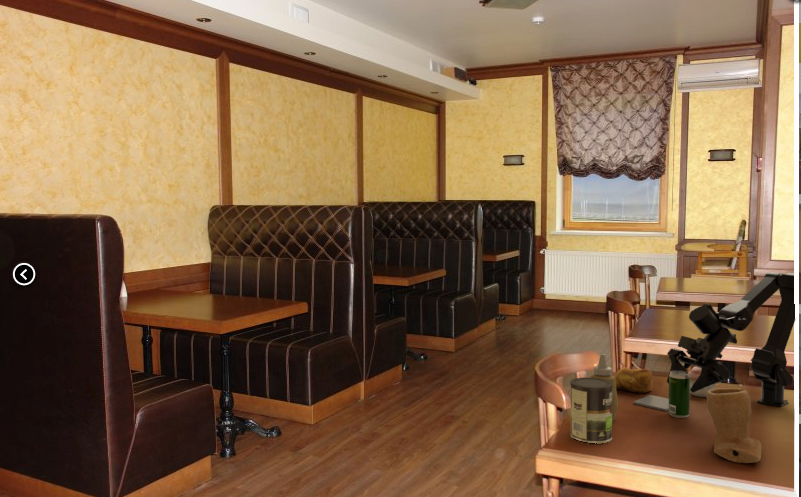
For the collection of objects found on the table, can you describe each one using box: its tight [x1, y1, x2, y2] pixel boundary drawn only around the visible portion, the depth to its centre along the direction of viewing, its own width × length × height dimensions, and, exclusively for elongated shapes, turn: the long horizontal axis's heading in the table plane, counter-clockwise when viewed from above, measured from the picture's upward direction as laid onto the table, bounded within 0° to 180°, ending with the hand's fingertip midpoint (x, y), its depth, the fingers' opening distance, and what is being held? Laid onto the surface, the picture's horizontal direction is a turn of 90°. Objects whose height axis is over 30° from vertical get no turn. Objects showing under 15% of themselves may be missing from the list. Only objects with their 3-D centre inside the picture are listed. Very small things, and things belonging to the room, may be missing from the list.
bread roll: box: [613, 366, 653, 394], centre depth 208 cm, size 13×10×8 cm
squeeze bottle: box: [589, 353, 619, 422], centre depth 179 cm, size 8×8×18 cm
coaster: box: [633, 394, 669, 412], centre depth 193 cm, size 10×10×1 cm
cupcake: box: [687, 366, 718, 398], centre depth 201 cm, size 9×9×10 cm
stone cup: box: [705, 387, 762, 464], centre depth 154 cm, size 15×12×15 cm
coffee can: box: [569, 377, 613, 445], centre depth 166 cm, size 10×10×14 cm
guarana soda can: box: [668, 370, 691, 419], centre depth 182 cm, size 5×5×12 cm
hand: (679, 387), depth 182 cm, fingers open, 9 cm apart
